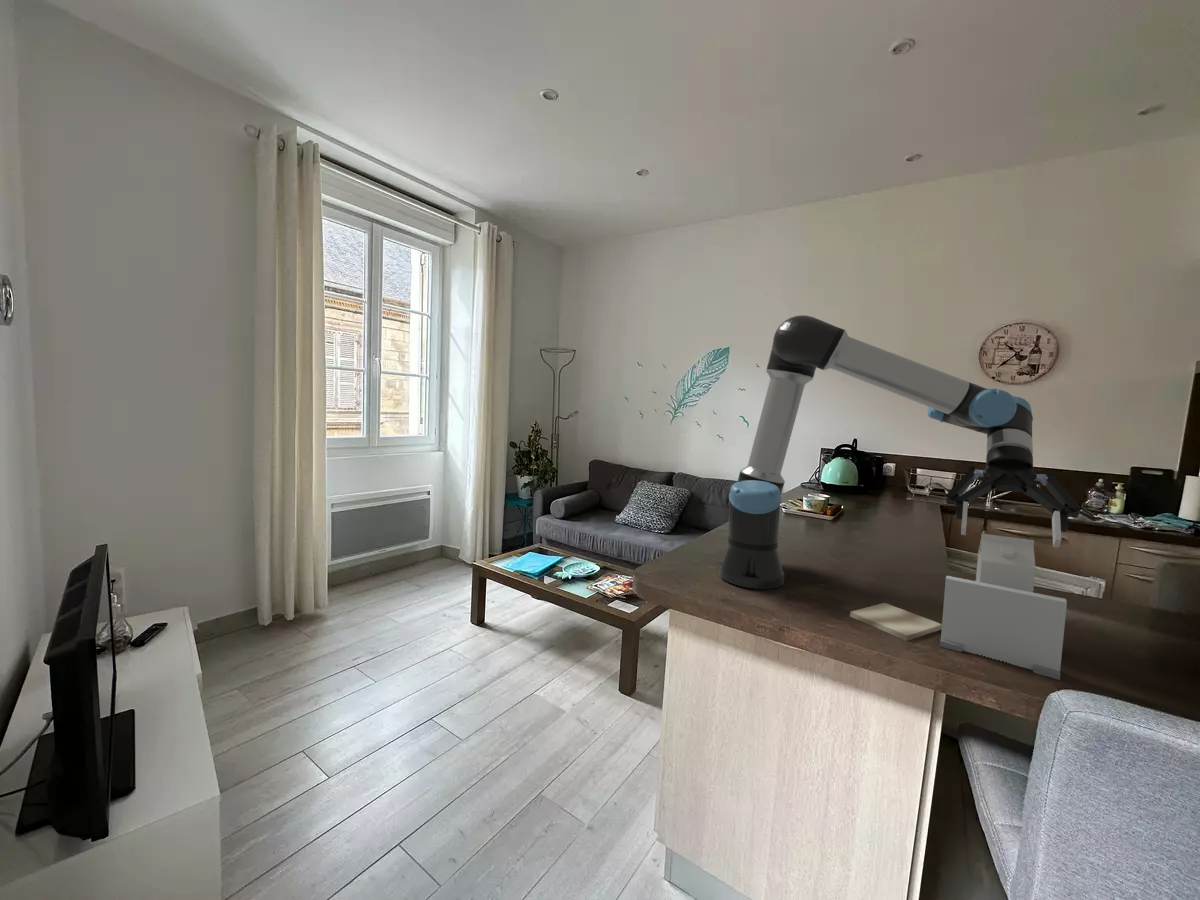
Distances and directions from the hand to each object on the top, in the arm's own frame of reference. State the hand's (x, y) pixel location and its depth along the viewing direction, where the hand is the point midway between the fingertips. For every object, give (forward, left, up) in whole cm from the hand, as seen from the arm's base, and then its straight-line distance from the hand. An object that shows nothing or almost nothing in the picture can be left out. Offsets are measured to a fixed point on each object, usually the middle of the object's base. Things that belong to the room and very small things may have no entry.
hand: (1008, 537), depth 89 cm
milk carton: (+3, -8, -17) cm, 20 cm away
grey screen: (+6, -17, -17) cm, 25 cm away
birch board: (-9, -19, -17) cm, 27 cm away
